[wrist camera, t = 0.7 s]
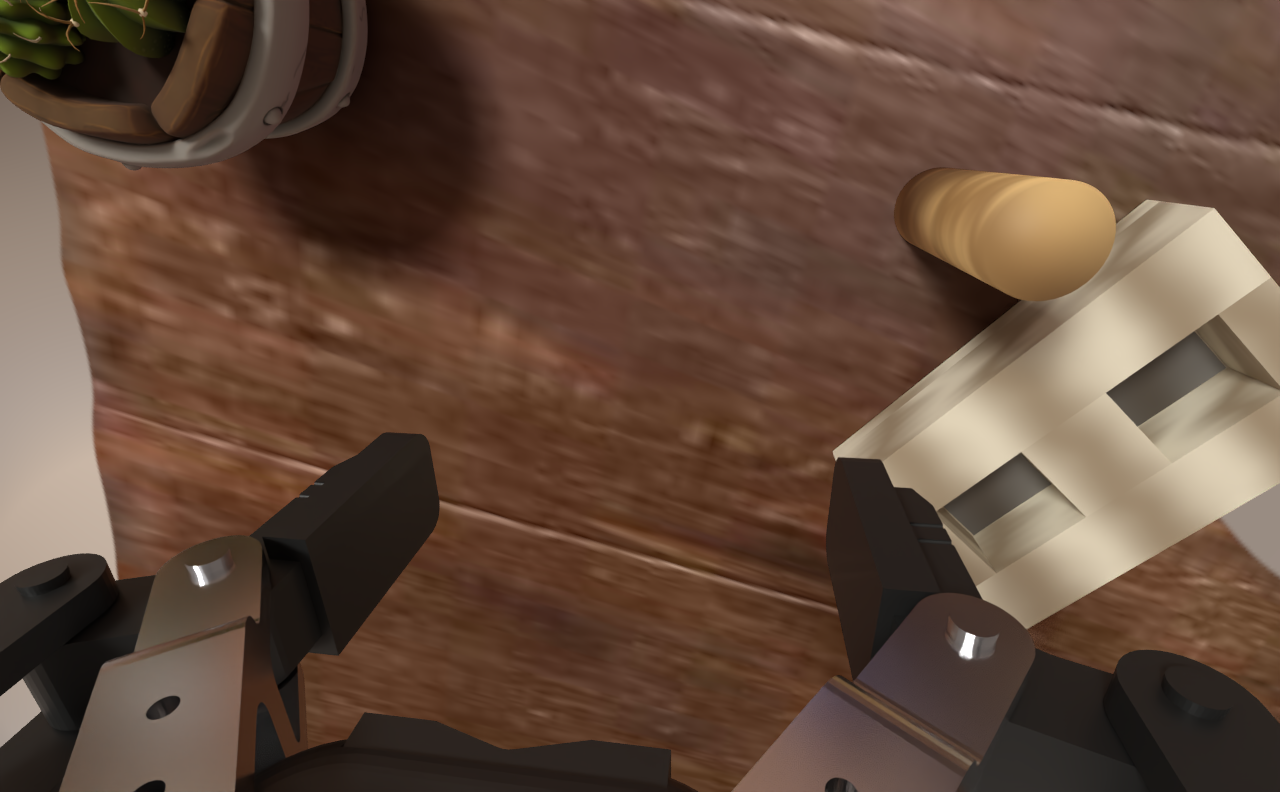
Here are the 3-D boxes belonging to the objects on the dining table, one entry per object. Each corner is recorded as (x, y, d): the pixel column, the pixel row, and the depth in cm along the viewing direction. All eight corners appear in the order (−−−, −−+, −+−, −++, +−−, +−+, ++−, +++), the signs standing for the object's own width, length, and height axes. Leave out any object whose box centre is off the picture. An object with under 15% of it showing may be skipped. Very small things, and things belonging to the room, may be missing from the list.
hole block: (1146, 199, 30) (1214, 208, 26) (1303, 384, 32) (1389, 420, 28) (832, 451, 37) (846, 489, 33) (979, 587, 40) (1009, 639, 35)
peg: (942, 149, 30) (1066, 152, 19) (993, 206, 31) (1142, 239, 20) (877, 211, 32) (959, 245, 21) (927, 263, 32) (1032, 324, 21)
